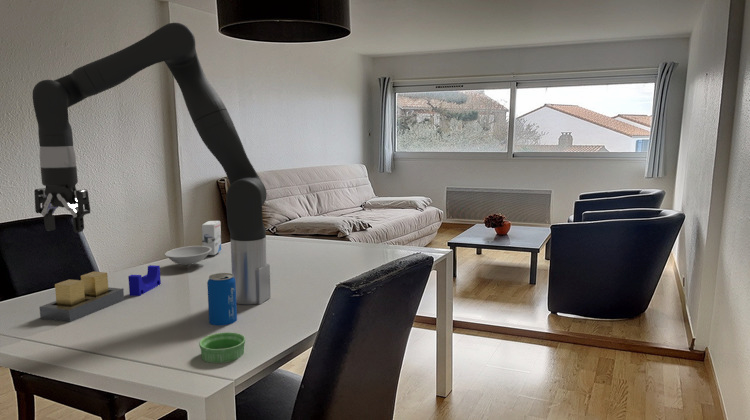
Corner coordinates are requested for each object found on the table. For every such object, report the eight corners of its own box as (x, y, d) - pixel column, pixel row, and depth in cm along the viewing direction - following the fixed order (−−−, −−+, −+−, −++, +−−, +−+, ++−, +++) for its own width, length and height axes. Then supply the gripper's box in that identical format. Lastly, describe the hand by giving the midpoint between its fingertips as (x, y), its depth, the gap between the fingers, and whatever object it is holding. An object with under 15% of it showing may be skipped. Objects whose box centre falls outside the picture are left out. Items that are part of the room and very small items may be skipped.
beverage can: (222, 331, 123) (220, 281, 121) (203, 325, 126) (201, 277, 125) (242, 322, 128) (241, 274, 127) (224, 317, 132) (222, 271, 130)
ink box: (209, 250, 206) (208, 220, 205) (222, 250, 206) (221, 220, 205) (202, 255, 198) (200, 224, 196) (215, 255, 198) (214, 224, 196)
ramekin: (190, 366, 105) (189, 345, 104) (219, 349, 113) (218, 329, 112) (228, 374, 102) (227, 352, 101) (254, 355, 110) (254, 335, 109)
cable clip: (146, 284, 161) (145, 265, 160) (160, 284, 161) (159, 265, 160) (124, 296, 149) (123, 276, 148) (139, 297, 149) (138, 276, 148)
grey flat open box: (124, 301, 144) (123, 288, 144) (70, 324, 127) (69, 310, 127) (97, 298, 147) (96, 286, 146) (40, 320, 130) (39, 306, 129)
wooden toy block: (85, 311, 135) (83, 280, 134) (72, 316, 131) (69, 285, 129) (71, 309, 136) (69, 279, 135) (57, 315, 132) (54, 284, 130)
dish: (193, 273, 173) (192, 258, 172) (155, 270, 177) (154, 255, 176) (221, 260, 190) (220, 246, 189) (185, 258, 193) (185, 244, 193)
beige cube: (109, 301, 142) (107, 272, 141) (96, 306, 138) (94, 277, 137) (95, 300, 143) (93, 271, 142) (83, 305, 139) (80, 275, 138)
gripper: (94, 164, 129) (100, 229, 132) (48, 164, 133) (54, 227, 135) (69, 166, 122) (75, 235, 124) (21, 165, 126) (28, 232, 128)
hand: (64, 231), depth 130 cm, fingers open, 8 cm apart
